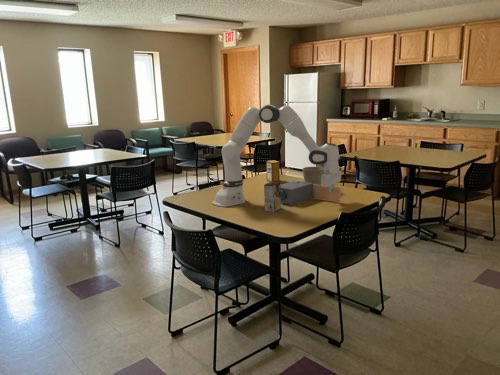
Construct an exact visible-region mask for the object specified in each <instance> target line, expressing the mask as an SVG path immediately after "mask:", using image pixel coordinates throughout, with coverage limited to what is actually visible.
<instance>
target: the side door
mask: <svg viewBox="0 0 500 375" xmlns="http://www.w3.org/2000/svg"><path fill="white" fill-rule="evenodd" d="M312 199H319V200H324V201H331V202H337V203H341V187H339V186H338V187H337V186H334V188H333V191H332V192H329V189H328V187H322V186H321V185H317V184H313V198H312Z"/></svg>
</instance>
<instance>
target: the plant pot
mask: <svg viewBox="0 0 500 375" xmlns="http://www.w3.org/2000/svg"><path fill="white" fill-rule="evenodd" d="M301 170H302V175H303V181H304V182H309V183H313V184H317V185H321V178H322V175H323V174H324V166H323V167H322V166H306V167H303V168H302V169H301Z"/></svg>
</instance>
